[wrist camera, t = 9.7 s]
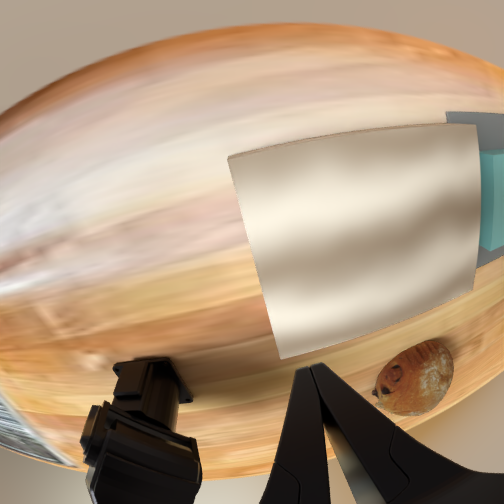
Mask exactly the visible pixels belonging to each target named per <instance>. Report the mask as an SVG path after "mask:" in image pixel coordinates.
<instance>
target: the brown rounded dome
mask: <svg viewBox="0 0 504 504" xmlns="http://www.w3.org/2000/svg"><path fill="white" fill-rule="evenodd" d="M453 372H454V365H453V359H452V356H451V354H450V352H449V351H448V349H447V348H446V347H445V346H444V345H442V344H441V343H439V342H435V341H424V342H422V343H419V344H417V345H416V346H413V347H411V348H409V349H407V350H405V351H403V352H401V353H400V354H398V355H397V356H396V357H395V358H394V359H392V360H391V361H390V362H389V363H388V364H387V365H386V366H385V367H384V368H383V370H382V371H381V372H380V374H379V376H378V379H377V382H376V388H375V390H373V391H372V395H375V396H377V397H378V399H379V402H378V403H376V407H379V408H382V409H384V410H387V411H389V412H391V414H396V415H402V416H419V415H422V414H424V413H426V412H429V411H430V410H432V409H433V408H435V407H436V406H437V405H438V403H439V402H440V401H441V400H442V399H443V397H444V396H445V394H446V392H447V390H448V388H449V387H450V384H451V381H452V378H453Z"/></svg>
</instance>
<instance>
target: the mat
mask: <svg viewBox="0 0 504 504" xmlns="http://www.w3.org/2000/svg"><path fill="white" fill-rule="evenodd" d="M446 117H447V123H453V124H472V125H476V128H477V136H478V145H479V151H485V150H496V149H504V114H495V113H479V112H446ZM503 255H504V245H503V246H501V247H499V248H497V249H494V250H492V251H489V250H487V249H485V248H484V247H482V246H480V245H479V247H478V256H477V264H476V268H479V267H481V266H483V265H485V264H487V263H489V262H491V261H493V260H495V259H497V258H499V257H501V256H503Z"/></svg>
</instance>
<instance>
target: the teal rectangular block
mask: <svg viewBox="0 0 504 504" xmlns="http://www.w3.org/2000/svg"><path fill="white" fill-rule="evenodd" d="M479 156H480V173H481V219H480V235H479V245H480V246H482V247H484V248H485V249H487V250H489V251H492V250H494V249H497V248H499V247H501V246H503V245H504V149H496V150H485V151H479Z"/></svg>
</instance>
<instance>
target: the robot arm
mask: <svg viewBox="0 0 504 504" xmlns="http://www.w3.org/2000/svg"><path fill="white" fill-rule="evenodd" d="M165 362H166V363H165ZM113 371H114V372H115V374H116V375H117V376H118V378H119V379H118V381H117V384H116V387H115V389H114V392H113V395H114V399H113V402H112V405H111V404H110V403H109V402H107V401H105V400H104V402H103V404H102V406H100V405H99V406H96V405H92V407H91V409H90V412H89V415H88V417H87V420H86V423H85V426H84V429H83V432H82V435H81V439H80V444H81V446H82V448H83V454H84V458H83V463H85V464H87V465H89V469H88V472H87V476H86V485H87V488H88V491H89V494H90V497H91V500H92V503H93V504H193V503H194V500H195V496H196V494H197V493H198V491H199V489H200V486H201V482H202V467H201V462H200V457H199V452H198V447H197V442H196V439H195V438H192V437H186V436H183V435H180V434H178V433H175V431H176V423H177V416H178V408H179V404H183V403H191V402H193V396H192V394H191V393H190V391H189V390H188V388H187V387H186V385H185V383H184V382H183V380H182V378H181V377H180V375H179V373H178V372H177V370H176V368H175V367H174V365H173V363H172V361H171V360H170V359H169V358H158V359H151V360H143V361H136V362H127V363H119V364H114V366H113ZM323 425H324V426H323ZM324 428H325V431H326V433H327V436H328V438H329V440H330V443H331V445H332V447H333V450H334V452H335V454H336V457H337V459H338V461H339V464H340V466H341V468H342V470H343V473H344V475H345V478H346V480H347V482H348V484H349V487H350V489H351V491H352V494H353V496H354V498H355V501H356V503H357V504H504V473H485V472H477V471H473V470H470V469H467V468H465V467H463V466H461V465H459V464H457V463H455V462H453V461H451V460H449V459H447V458H446V457H444V456H442V455H440V454H438V453H436V452H435V451H433V450H431V449H430V448H428V447H426V446H425V445H423V444H421V443H420V442H418V441H417V440H415V439H414V438H413V437H411V436H410V435H409V434H407V433H406V432H405V431H404V430H402V429H401V428H400V427H399V426H396V424H395V423H393V422H392V421H391V420H390V419H389V418H387V417H386V416H385V415H384V414H383V413H381V412H380V411H379V410H378V409H377V408H375V407H374V406H373V405H372V404H371V403H369V402H368V401H367V400H366V399H365V398H363V397H362V396H361V395H360V394H359V393H358V392H356V391H355V390H354V389H353V388H352V387H351V386H349V385H348V384H347V383H346V382H345V381H344V380H342V379H341V378H340V377H339V376H338V375H337V374H335V373H334V372H333V371H332V370H331V369H330V368H329V367H327V366H326V365H325V364H324V363H322V362H320V363H317V364H313V365H311V366H310V368H309V367H308V366H306V367H302V368H298V369H296V371H295V376H294V380H293V385H292V390H291V394H290V399H289V403H288V408H287V412H286V416H285V421H284V425H283V429H282V433H281V437H280V441H279V445H278V449H277V452H276V456H275V460H274V462H275V463H273V467H272V470H271V474H270V477H269V480H268V483H267V486H266V489H265V491H264V493H263V496H262V499H261V500H260V502H259V504H331V500H330V487H329V475H328V464H327V453H326V444H325V435H324Z"/></svg>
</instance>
